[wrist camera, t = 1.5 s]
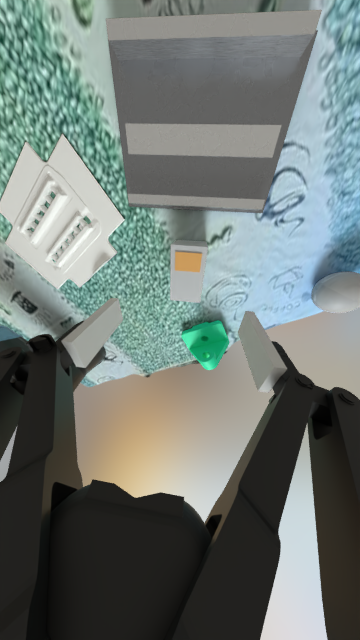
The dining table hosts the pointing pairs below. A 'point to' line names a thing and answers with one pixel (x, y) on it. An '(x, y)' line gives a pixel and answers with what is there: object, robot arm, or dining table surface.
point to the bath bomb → (337, 292)
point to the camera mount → (207, 343)
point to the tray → (59, 215)
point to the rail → (207, 104)
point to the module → (187, 270)
